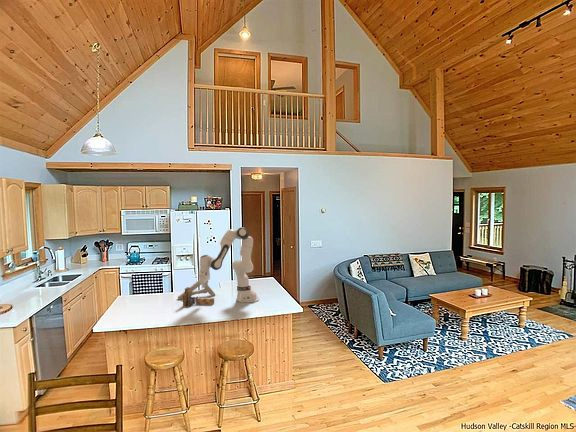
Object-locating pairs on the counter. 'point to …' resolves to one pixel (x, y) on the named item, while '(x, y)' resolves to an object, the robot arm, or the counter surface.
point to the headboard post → (188, 298)
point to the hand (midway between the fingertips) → (205, 286)
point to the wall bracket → (194, 286)
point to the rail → (204, 300)
